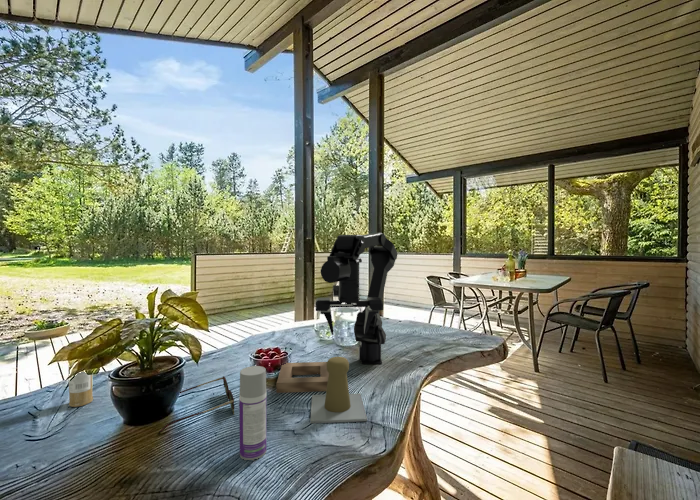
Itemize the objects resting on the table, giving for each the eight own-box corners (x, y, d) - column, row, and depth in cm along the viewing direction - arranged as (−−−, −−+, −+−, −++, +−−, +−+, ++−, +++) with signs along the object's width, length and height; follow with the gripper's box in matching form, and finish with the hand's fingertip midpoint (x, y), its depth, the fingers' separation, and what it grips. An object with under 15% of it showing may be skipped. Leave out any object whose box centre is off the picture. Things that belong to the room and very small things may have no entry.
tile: (360, 395, 84) (360, 393, 84) (367, 421, 72) (367, 418, 72) (312, 397, 83) (312, 395, 83) (310, 423, 71) (310, 421, 71)
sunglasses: (236, 420, 73) (233, 397, 72) (157, 445, 66) (154, 420, 65) (225, 393, 85) (224, 374, 85) (158, 412, 78) (156, 391, 78)
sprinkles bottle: (95, 397, 82) (94, 342, 82) (90, 405, 78) (89, 347, 78) (71, 400, 80) (70, 344, 80) (65, 409, 76) (64, 350, 76)
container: (243, 445, 63) (242, 366, 63) (268, 444, 63) (268, 365, 63) (236, 461, 58) (236, 376, 58) (264, 460, 59) (264, 375, 58)
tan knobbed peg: (351, 400, 80) (352, 354, 80) (349, 413, 74) (349, 363, 74) (326, 399, 81) (326, 353, 80) (322, 411, 75) (322, 362, 74)
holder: (330, 370, 100) (330, 361, 100) (332, 391, 86) (332, 381, 86) (282, 371, 99) (282, 363, 99) (276, 392, 85) (276, 383, 85)
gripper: (377, 276, 104) (376, 326, 104) (316, 276, 102) (316, 327, 102) (383, 280, 92) (383, 336, 93) (315, 280, 91) (315, 338, 91)
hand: (348, 334), depth 95 cm, fingers open, 9 cm apart
